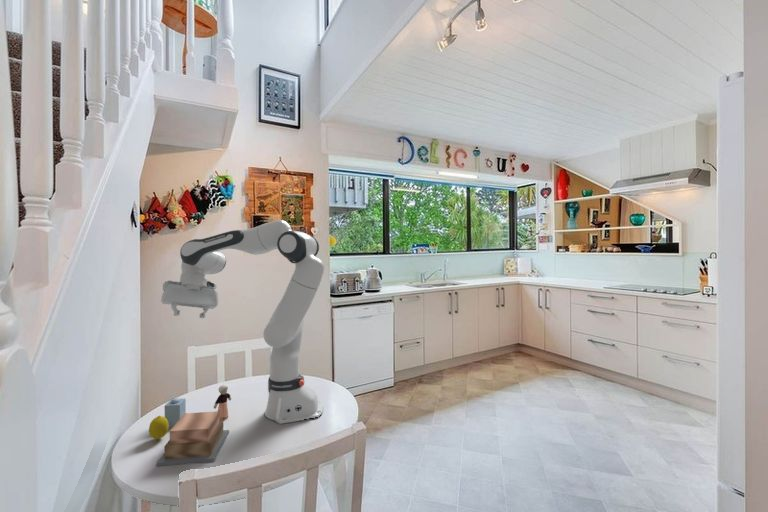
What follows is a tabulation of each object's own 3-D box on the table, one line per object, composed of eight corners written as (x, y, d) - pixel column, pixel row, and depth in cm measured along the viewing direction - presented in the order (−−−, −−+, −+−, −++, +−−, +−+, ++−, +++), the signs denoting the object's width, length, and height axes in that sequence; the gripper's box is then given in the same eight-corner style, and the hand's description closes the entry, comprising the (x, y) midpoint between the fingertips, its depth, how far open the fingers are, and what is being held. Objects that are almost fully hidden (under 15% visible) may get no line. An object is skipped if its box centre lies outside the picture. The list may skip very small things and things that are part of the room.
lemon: (146, 445, 111) (146, 421, 111) (152, 436, 116) (152, 413, 116) (165, 442, 112) (165, 419, 112) (170, 433, 118) (170, 411, 117)
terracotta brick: (223, 432, 117) (223, 409, 117) (210, 455, 104) (210, 430, 104) (182, 435, 115) (182, 412, 115) (164, 459, 102) (164, 433, 102)
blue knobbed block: (185, 419, 127) (185, 396, 127) (179, 426, 122) (179, 402, 122) (170, 420, 127) (170, 397, 126) (164, 427, 122) (164, 403, 121)
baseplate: (229, 432, 119) (229, 429, 119) (214, 461, 103) (214, 458, 103) (179, 436, 116) (179, 433, 116) (156, 466, 101) (156, 462, 101)
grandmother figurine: (221, 423, 125) (221, 389, 125) (211, 422, 126) (212, 388, 125) (234, 413, 132) (234, 381, 132) (225, 412, 133) (225, 380, 133)
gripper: (166, 276, 130) (162, 311, 124) (220, 285, 145) (219, 316, 139) (160, 282, 133) (156, 316, 127) (213, 290, 148) (212, 321, 142)
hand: (189, 316), depth 133 cm, fingers open, 8 cm apart
